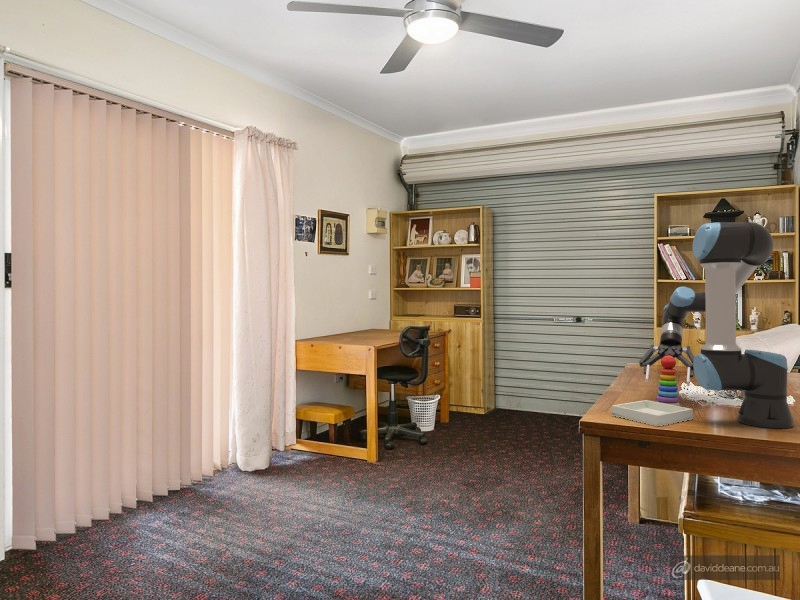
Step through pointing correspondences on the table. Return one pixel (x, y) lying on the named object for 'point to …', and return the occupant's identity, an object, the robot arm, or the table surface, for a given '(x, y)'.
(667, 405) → the tray
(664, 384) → the stacking toy
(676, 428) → the table surface
